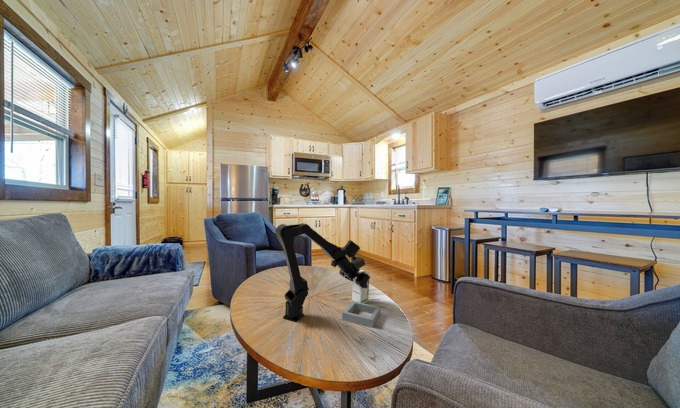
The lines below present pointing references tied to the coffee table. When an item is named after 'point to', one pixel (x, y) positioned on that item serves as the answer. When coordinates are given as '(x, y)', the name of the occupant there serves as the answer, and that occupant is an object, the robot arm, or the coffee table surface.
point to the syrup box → (360, 291)
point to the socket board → (360, 319)
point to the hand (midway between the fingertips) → (363, 285)
